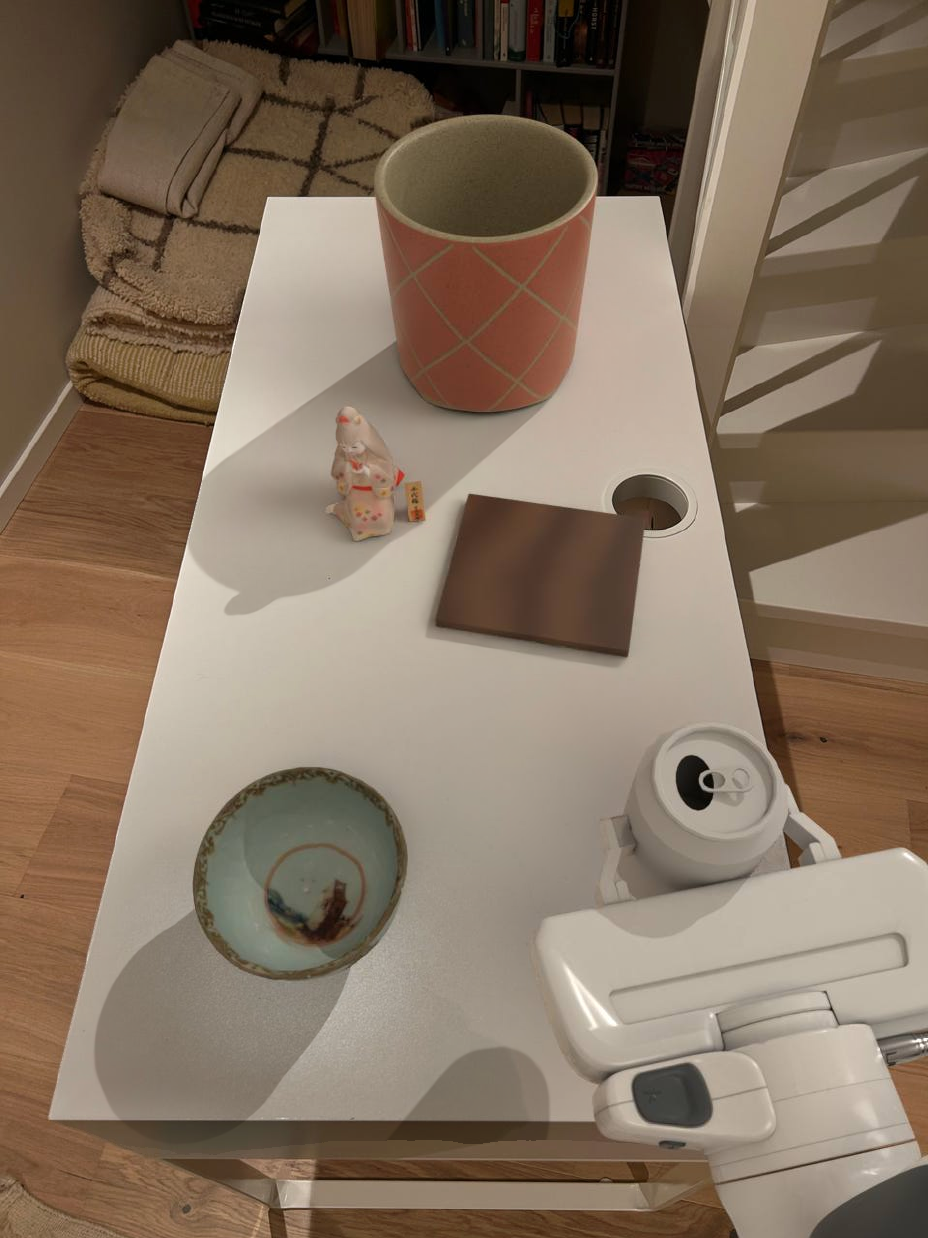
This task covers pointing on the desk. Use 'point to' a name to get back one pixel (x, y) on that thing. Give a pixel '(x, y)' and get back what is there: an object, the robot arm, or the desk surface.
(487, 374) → the planter
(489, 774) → the desk surface
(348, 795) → the bowl
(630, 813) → the can
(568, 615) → the board
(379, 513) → the figurine
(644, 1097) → the robot arm
